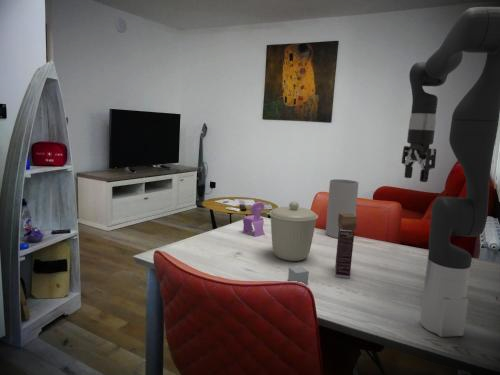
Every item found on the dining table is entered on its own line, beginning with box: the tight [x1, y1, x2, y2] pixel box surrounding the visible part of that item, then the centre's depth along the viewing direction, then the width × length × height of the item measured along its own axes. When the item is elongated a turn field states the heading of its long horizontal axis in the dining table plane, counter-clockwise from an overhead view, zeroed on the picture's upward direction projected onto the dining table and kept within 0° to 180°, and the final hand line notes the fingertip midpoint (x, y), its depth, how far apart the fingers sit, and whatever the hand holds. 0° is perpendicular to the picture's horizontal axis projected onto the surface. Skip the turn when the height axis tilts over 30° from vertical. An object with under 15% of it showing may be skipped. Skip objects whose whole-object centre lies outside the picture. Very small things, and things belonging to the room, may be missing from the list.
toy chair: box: [242, 201, 266, 238], centre depth 162 cm, size 8×9×15 cm
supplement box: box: [334, 227, 355, 279], centre depth 121 cm, size 9×5×16 cm, turn 168°
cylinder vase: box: [325, 178, 359, 239], centre depth 164 cm, size 12×12×25 cm
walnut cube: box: [338, 213, 358, 231], centre depth 119 cm, size 4×4×4 cm
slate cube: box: [287, 265, 310, 286], centre depth 113 cm, size 4×4×4 cm
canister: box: [268, 201, 319, 262], centre depth 134 cm, size 18×18×21 cm
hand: (415, 179), depth 116 cm, fingers open, 8 cm apart
